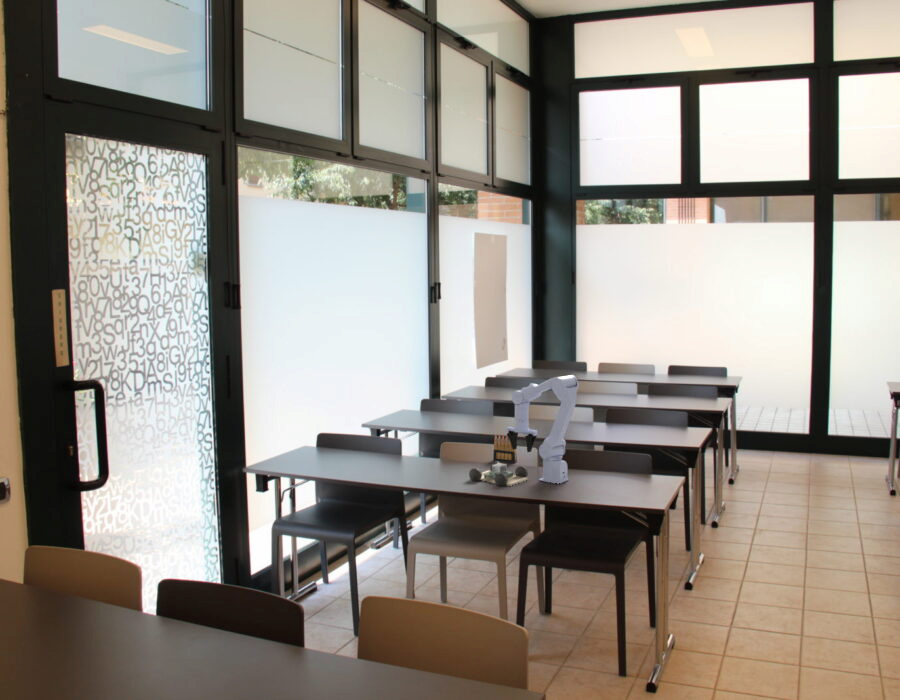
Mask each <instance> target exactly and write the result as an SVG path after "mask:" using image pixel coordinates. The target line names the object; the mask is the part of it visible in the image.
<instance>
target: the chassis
mask: <svg viewBox="0 0 900 700" xmlns="http://www.w3.org/2000/svg"><path fill="white" fill-rule="evenodd" d="M497 463H501V462H499V461H492V462H491V463H490V466H489V468H490V469H489V470H486V471H483V472H482V471H481V469H480V468H478V467H475V468H472V469H470V470H469V473H468V476H469V479H470V478H471V479H470V480H471V481H473V480H474V481H473V482H478V481H479V480H483V481H482V482H484V481H487V482H486V483H489V482H492V483H491V484H494V483H496V484H495V485H497V486H498V485H500V486H499V487H504V485H506V487H509V486H511V487H513V486H515V484H516V485H518V483H519V484H521V483H524V482H526V480H527V481H528V476H529V471H528V470H529V469H528V468H527V467H526V466H525V465H521V466H520V465H519V466H518V467H516V469H515V473H514V472H512V471H508V470H507V474H504V473H500V474H497V475H492V465H494V464H497ZM514 474H515V475H514ZM477 480H478V481H477ZM523 481H524V482H523ZM512 485H513V486H512Z"/></svg>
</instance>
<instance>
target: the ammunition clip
mask: <svg viewBox="0 0 900 700" xmlns="http://www.w3.org/2000/svg"><path fill="white" fill-rule="evenodd" d="M497 436H498V437H497ZM517 459H518V458H517V449H514V450H513V449H512V445H511V442H510V440H509V438H508V436H507V434H506V436H505V435H504V434H503V435H502V437H501V435H500V434H498V435H497V434H496V433H495V435H494V441H493V459H492V460H493V461H492V462H496V461H498V462H500V463H507V464H516V463H517V461H518V460H517Z"/></svg>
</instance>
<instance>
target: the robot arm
mask: <svg viewBox="0 0 900 700" xmlns="http://www.w3.org/2000/svg"><path fill="white" fill-rule="evenodd" d="M579 387H580V384H579V381H578V379H577V377H576V376H575V375H574V374H567V375H563V376H562V375H561V376H554V377H551V378H549V379H547V380H544V381H543V382H541V383H539V384H537V383H533V382H532V383H529V384H528V386H526V387H524V386H523V387H522V388H521V389H520V390H514V391H513V392H512V394H511V401H512V403H513V404H514V426H507V427H506V429H505V430H506V432H507V433H506V435H507V437H508V441H509V440H510V442H511V445H512V449H513V450H514V449H516V450H517V447H518V437H519V434H524V435H525V436H524V437H525V440H526V452H527V453H530V452H531V453H532V449H533V447H534V443H535V441H536V439H537V437H538V430H536V429H532V428H530V426H529V423H530V422H529V419H530V418H529V408H530V403H531V401H533V400H535V399H537V398H539V397H541V395H542V393H543V392H546V391H549V390H551V391H552V392H553V393H554V395H555V396H556V398H557V399H558V400H559V401H560V405H559V408H558V411H557V414H556V416H555V418H554V422H553V425H552V426H551V427H552V428H551V430H550V433H549V435H548V436H547V437H546V438H545V439H544V440H543V442H542V444H540V445H539V446H538V453H539V456H540V458H541V460H542V477H541V478H539V479H538V481H541V482H546V483H550V482H551V483H550V484H555V483H557V484H556V485H559V483H560V484H562V483H564V482H567V481H569V478H568V477H569V476H568V473H569V472H568V463H567V461H566V460H563V456H564V455H565V453H566V445H567V442H566V440H565V439H564V437H565V435H566V432H567V429H568V426H569V424H570V421H571V418H572V414H573V413H574V410H575V408H576V404H577V395H578V389H579Z"/></svg>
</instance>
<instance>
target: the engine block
mask: <svg viewBox="0 0 900 700" xmlns="http://www.w3.org/2000/svg"><path fill="white" fill-rule="evenodd" d="M507 471H508V463H503V462H500V463H497V464H494V465H492V475H497V474H500V473H504V474H507Z"/></svg>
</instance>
